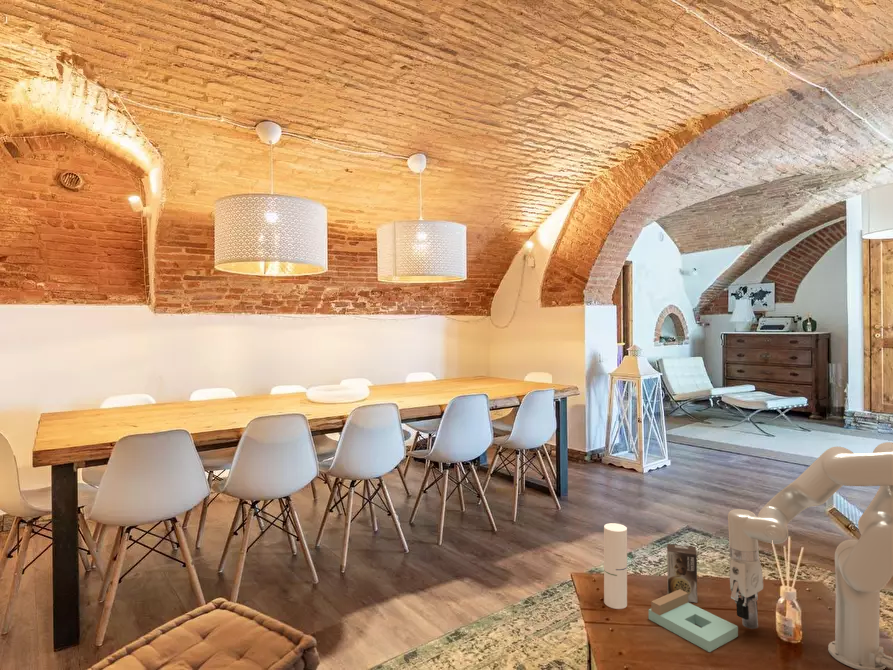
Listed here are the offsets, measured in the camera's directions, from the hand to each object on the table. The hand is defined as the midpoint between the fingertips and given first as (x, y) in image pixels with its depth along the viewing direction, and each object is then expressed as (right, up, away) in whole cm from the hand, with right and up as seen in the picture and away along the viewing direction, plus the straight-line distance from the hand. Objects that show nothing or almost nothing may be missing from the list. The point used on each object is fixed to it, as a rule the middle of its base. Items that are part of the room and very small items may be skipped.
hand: (747, 614), depth 160 cm
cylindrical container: (-34, -5, +17) cm, 38 cm away
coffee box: (-10, -5, +21) cm, 24 cm away
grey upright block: (+1, -3, -1) cm, 3 cm away
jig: (-15, -5, +3) cm, 16 cm away
